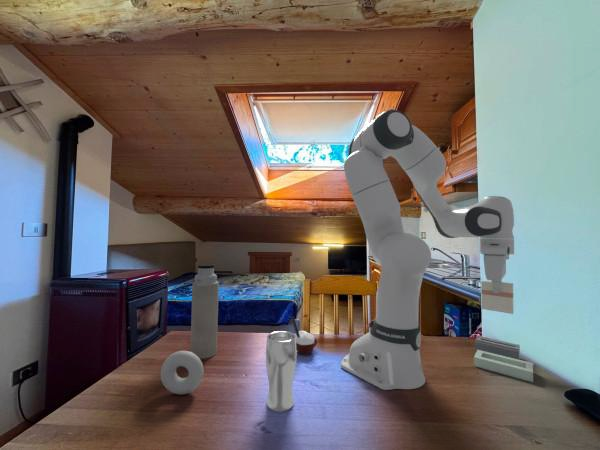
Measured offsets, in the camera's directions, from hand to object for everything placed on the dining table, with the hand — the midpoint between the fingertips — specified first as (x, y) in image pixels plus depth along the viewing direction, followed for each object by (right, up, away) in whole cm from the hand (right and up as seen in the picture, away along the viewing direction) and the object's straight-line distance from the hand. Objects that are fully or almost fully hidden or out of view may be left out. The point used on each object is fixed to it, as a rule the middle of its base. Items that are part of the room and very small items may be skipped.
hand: (496, 292), depth 86 cm
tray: (-5, -21, -9) cm, 23 cm away
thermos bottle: (-93, -20, +1) cm, 95 cm away
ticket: (0, -6, 0) cm, 6 cm away
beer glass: (-66, -19, -24) cm, 73 cm away
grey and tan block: (0, -21, -1) cm, 21 cm away
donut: (-90, -19, -21) cm, 95 cm away
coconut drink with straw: (-61, -20, +2) cm, 64 cm away
